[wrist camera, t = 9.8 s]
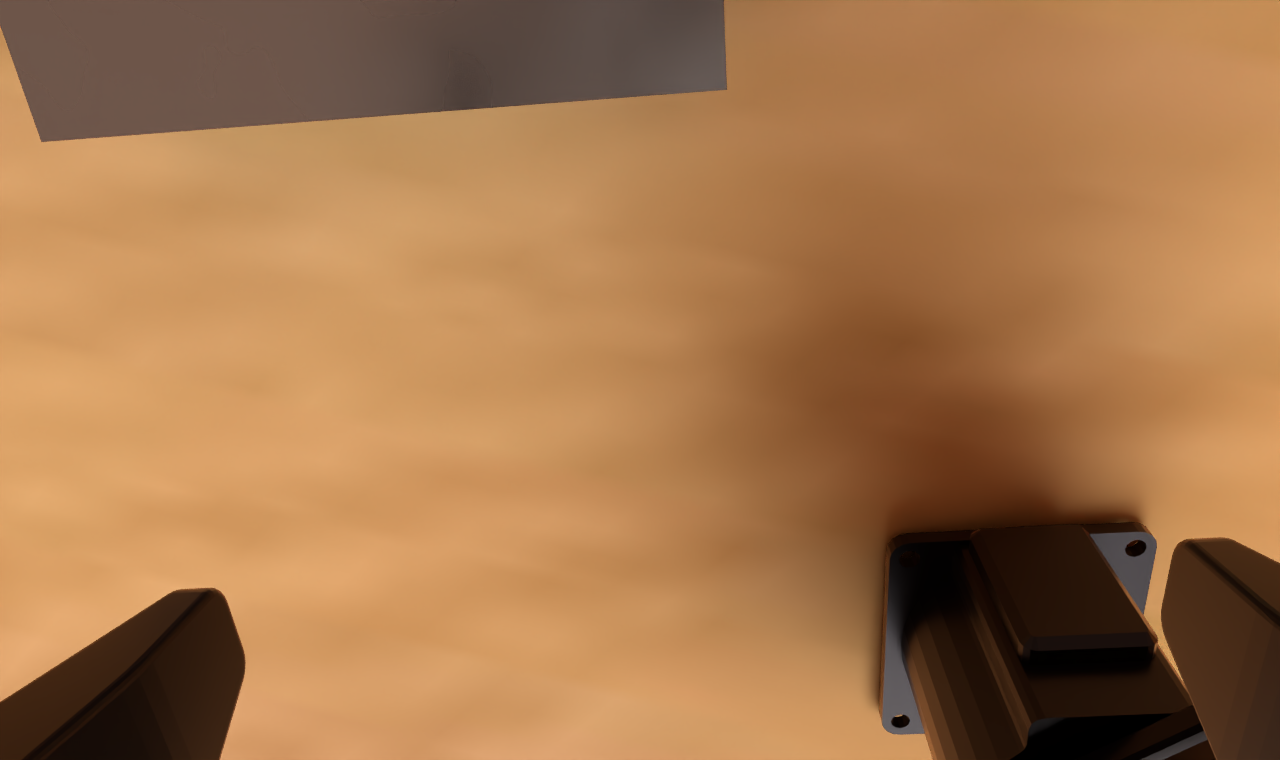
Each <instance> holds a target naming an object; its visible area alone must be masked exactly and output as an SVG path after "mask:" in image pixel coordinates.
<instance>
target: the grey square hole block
mask: <svg viewBox="0 0 1280 760" xmlns="http://www.w3.org/2000/svg"><path fill="white" fill-rule="evenodd" d="M0 26H1V29H2V31H3V34H4V37H5V40H6V43H7V46H8V48H9V51H10V54H11V57H12V60H13V62H14V65H15V68H16V71H17V74H18V77H19V79H20V82H21V85H22V88H23V91H24V94H25V96H26V99H27V102H28V105H29V108H30V110H31V113H32V116H33V119H34V122H35V125H36V127H37V130H38V133H39V136H40V139H41V142H47V141H60V140H73V139H86V138H99V137H112V136H125V135H139V134H152V133H165V132H178V131H191V130H204V129H217V128H230V127H243V126H257V125H270V124H283V123H296V122H309V121H322V120H335V119H348V118H362V117H375V116H388V115H401V114H414V113H427V112H440V111H453V110H467V109H480V108H493V107H506V106H519V105H532V104H545V103H558V102H571V101H585V100H598V99H611V98H624V97H637V96H650V95H663V94H676V93H690V92H703V91H716V90H727V80H726V54H725V27H724V0H0Z"/></svg>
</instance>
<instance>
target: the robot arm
mask: <svg viewBox="0 0 1280 760" xmlns="http://www.w3.org/2000/svg"><path fill="white" fill-rule="evenodd" d="M1135 540H1138V542H1137V543H1136V544H1135V545H1133V546H1130V547H1126V546H1127V544H1129V543H1130V542H1131V541H1135ZM1156 548H1157V544H1156V540H1155V538H1154V537H1153V535H1152V534H1151V533H1150V531H1149V530H1148V529H1147V528H1146V526H1144V525H1142V524H1140V523H1134V522H1126V523H1106V524H1086V525H1078V524H1066V525H1046V526H1026V527H1006V528H986V529H979V530H966V531H946V532H926V533H907V534H902V535H899V536H897V537H895V538H893V539H892V540H891V541H890V543H889V544H888V546H887V549H886V566H885V589H884V612H883V635H882V658H881V681H880V704H879V712H880V717H881V720H882V724H883V727H884V728H885V729H886V731H888V732H890V733H892V734H925V735H926V738H927V742H928V745H929V748H930V751H931V755H932V758H933V760H1280V563H1278V562H1276V561H1274V560H1272V559H1270V558H1268V557H1266V556H1264V555H1262V554H1260V553H1258V552H1256V551H1254V550H1252V549H1250V548H1248V547H1246V546H1244V545H1242V544H1240V543H1238V542H1236V541H1234V540H1232V539H1229V538H1200V539H1186V540H1183V541H1182V542H1180V543H1179V544H1177V546H1176V548H1175V549H1174V552H1173V555H1172V560H1171V565H1170V569H1169V574H1168V579H1167V584H1166V589H1165V594H1164V599H1163V603H1162V609H1161V622H1162V628H1163V632H1164V635H1165V638H1166V641H1167V643H1168V646H1169V648H1170V650H1171V653H1172V655H1173V658H1174V660H1175V662H1176V665H1177V667H1178V670H1179V672H1180V674H1181V677H1182V679H1183V681H1182V680H1181V678H1180V677H1179V675H1178V674H1177V672H1176V671H1175V669H1174V668H1173V666H1172V665H1171V663H1170V662H1169V660H1168V659H1167V657H1166V656H1165V654H1164V653H1163V651H1162V650H1161V648H1160V646H1159V645H1158V638H1157V635H1156V634H1155V632H1154V631H1153V629H1152V628H1151V626H1150V625H1149V623H1148V622H1147V620H1146V619H1145V617H1144V616H1143V614H1144V609H1145V604H1146V599H1147V594H1148V589H1149V584H1150V579H1151V574H1152V569H1153V564H1154V559H1155V554H1156ZM908 551H914V552H915V554H914V555H912V556H911V557H908V558H903V557H900V556H901V555H902V554H903V553H905V552H908ZM244 674H245V654H244V650H243V647H242V644H241V641H240V638H239V635H238V632H237V629H236V626H235V623H234V620H233V617H232V615H231V612H230V609H229V606H228V603H227V600H226V598H225V596H224V595H223V594H222V592H221V591H219V590H217V589H215V588H197V589H181V590H176V591H173V592H171V593H169V594H168V595H166V596H165V597H163V598H162V599H160V600H158V601H157V602H155V603H154V604H152V605H151V606H149V607H148V608H146V609H144V610H143V611H141V612H140V613H138V614H137V615H135V616H134V617H132V618H130V619H129V620H127V621H126V622H124V623H123V624H121V625H120V626H118V627H116V628H115V629H113V630H112V631H110V632H109V633H107V634H106V635H104V636H102V637H101V638H99V639H98V640H96V641H95V642H93V643H92V644H90V645H88V646H87V647H85V648H84V649H82V650H81V651H79V652H77V653H76V654H74V655H73V656H71V657H70V658H68V659H67V660H65V661H63V662H62V663H60V664H59V665H57V666H56V667H54V668H53V669H51V670H49V671H48V672H46V673H45V674H43V675H42V676H40V677H39V678H37V679H35V680H34V681H32V682H31V683H29V684H28V685H26V686H25V687H23V688H21V689H20V690H18V691H17V692H15V693H14V694H12V695H11V696H9V697H7V698H6V699H4V700H3V701H1V702H0V760H220V757H221V754H222V750H223V747H224V744H225V740H226V737H227V733H228V730H229V727H230V723H231V720H232V716H233V713H234V710H235V706H236V703H237V699H238V696H239V693H240V689H241V686H242V682H243V679H244ZM1183 682H1184V683H1183ZM1184 684H1185V685H1184ZM900 714H902V716H900V717H894V716H896V715H900Z"/></svg>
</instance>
